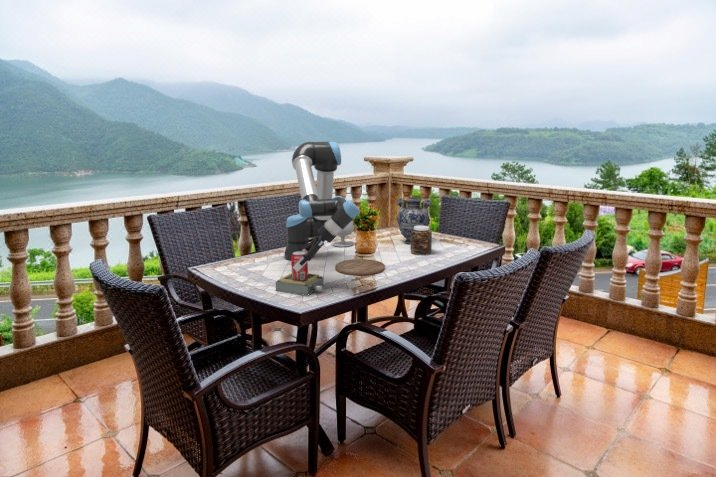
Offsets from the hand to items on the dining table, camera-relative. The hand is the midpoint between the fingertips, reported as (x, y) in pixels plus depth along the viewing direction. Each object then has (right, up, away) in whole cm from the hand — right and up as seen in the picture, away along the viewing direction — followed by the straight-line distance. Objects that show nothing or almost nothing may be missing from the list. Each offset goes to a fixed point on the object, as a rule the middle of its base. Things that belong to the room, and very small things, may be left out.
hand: (295, 265), depth 206 cm
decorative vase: (+61, +9, +87) cm, 107 cm away
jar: (+63, +3, +63) cm, 89 cm away
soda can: (+2, -6, +2) cm, 7 cm away
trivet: (+28, -4, +33) cm, 43 cm away
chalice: (+18, +7, +82) cm, 85 cm away
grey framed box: (+3, -10, +2) cm, 11 cm away
